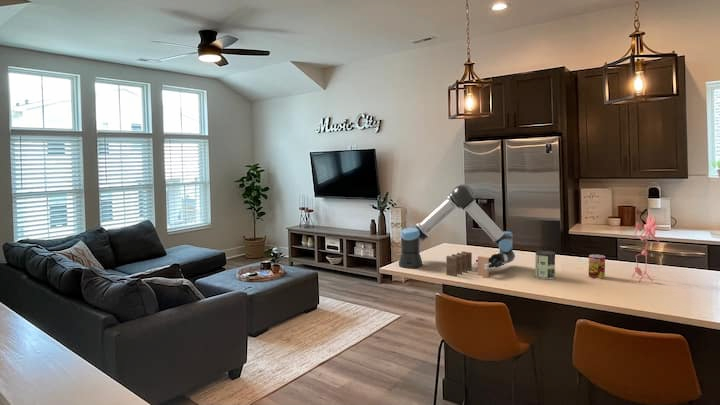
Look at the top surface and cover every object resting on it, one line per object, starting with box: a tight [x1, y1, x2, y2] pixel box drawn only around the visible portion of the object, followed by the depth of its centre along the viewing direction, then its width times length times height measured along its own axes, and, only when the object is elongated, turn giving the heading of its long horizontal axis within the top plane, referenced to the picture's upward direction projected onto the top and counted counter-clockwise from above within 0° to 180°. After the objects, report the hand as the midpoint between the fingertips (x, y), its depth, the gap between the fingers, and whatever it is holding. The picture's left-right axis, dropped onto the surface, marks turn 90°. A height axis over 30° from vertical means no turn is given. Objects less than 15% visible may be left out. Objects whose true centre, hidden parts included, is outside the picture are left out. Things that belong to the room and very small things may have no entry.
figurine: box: [631, 215, 660, 283], centre depth 229 cm, size 15×26×35 cm, turn 169°
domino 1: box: [445, 255, 458, 277], centre depth 247 cm, size 2×6×11 cm, turn 45°
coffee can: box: [534, 250, 556, 280], centre depth 239 cm, size 10×10×14 cm
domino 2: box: [451, 253, 463, 275], centre depth 251 cm, size 2×6×11 cm, turn 45°
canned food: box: [588, 254, 606, 280], centre depth 237 cm, size 8×8×12 cm
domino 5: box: [477, 255, 490, 278], centre depth 245 cm, size 2×6×11 cm, turn 45°
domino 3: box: [456, 252, 468, 273], centre depth 254 cm, size 2×6×11 cm, turn 46°
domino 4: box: [460, 251, 473, 272], centre depth 258 cm, size 2×6×11 cm, turn 45°
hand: (479, 266), depth 242 cm, fingers closed on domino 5, 6 cm apart
